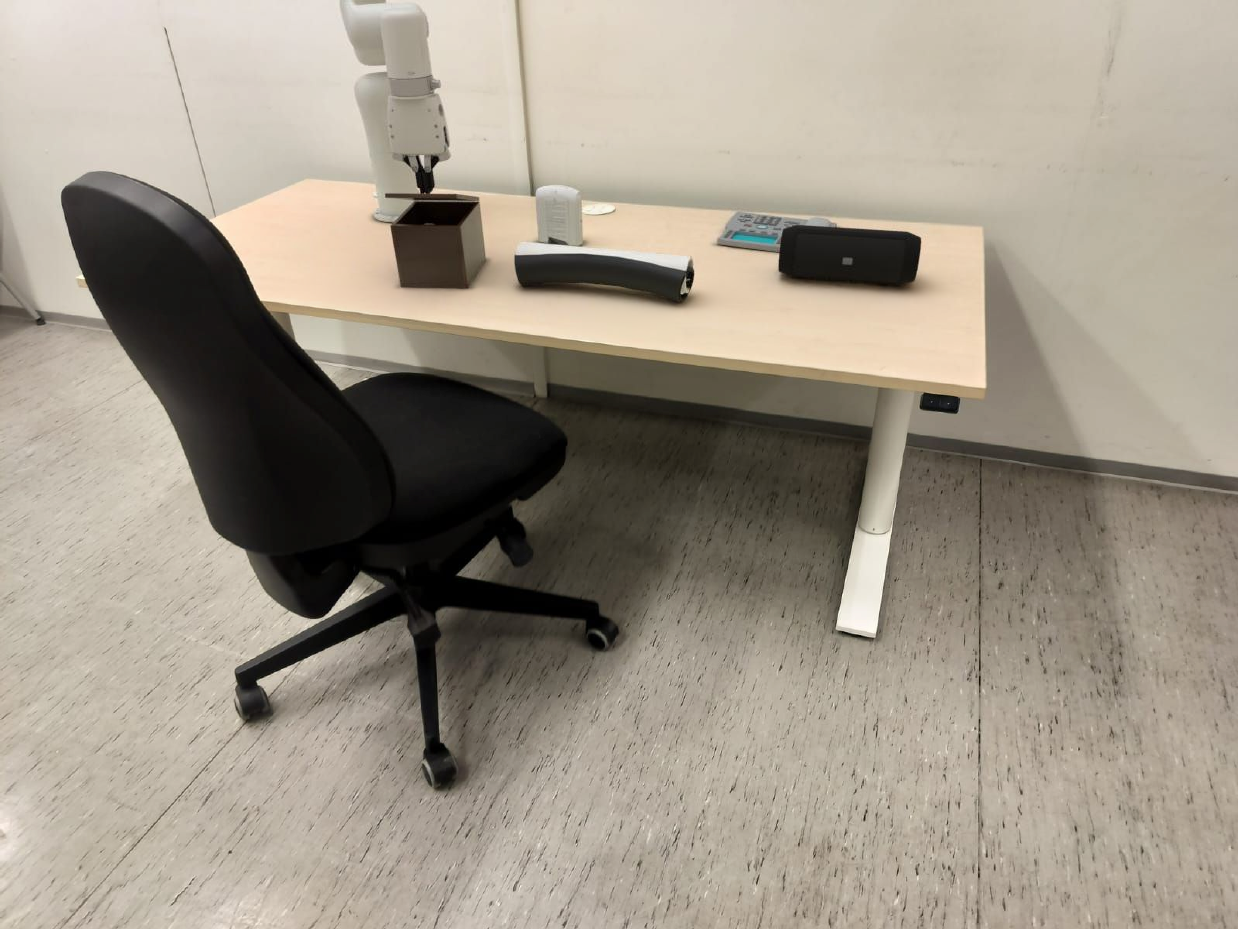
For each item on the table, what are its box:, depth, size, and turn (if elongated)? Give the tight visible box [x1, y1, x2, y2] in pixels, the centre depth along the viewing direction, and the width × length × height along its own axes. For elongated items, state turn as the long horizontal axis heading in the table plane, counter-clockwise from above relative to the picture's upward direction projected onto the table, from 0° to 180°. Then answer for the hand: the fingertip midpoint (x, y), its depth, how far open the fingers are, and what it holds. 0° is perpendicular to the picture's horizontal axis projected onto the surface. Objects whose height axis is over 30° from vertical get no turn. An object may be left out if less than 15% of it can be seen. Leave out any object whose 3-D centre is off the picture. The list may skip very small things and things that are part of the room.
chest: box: [389, 200, 487, 289], centre depth 170 cm, size 16×14×12 cm
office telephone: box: [716, 211, 838, 253], centre depth 187 cm, size 23×3×20 cm
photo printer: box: [535, 184, 584, 247], centre depth 184 cm, size 10×4×12 cm, turn 72°
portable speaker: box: [777, 225, 922, 287], centre depth 163 cm, size 26×10×10 cm, turn 75°
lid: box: [385, 193, 480, 202], centre depth 165 cm, size 16×14×1 cm
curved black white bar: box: [513, 237, 695, 303], centre depth 163 cm, size 35×9×14 cm
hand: (426, 191), depth 160 cm, fingers closed
